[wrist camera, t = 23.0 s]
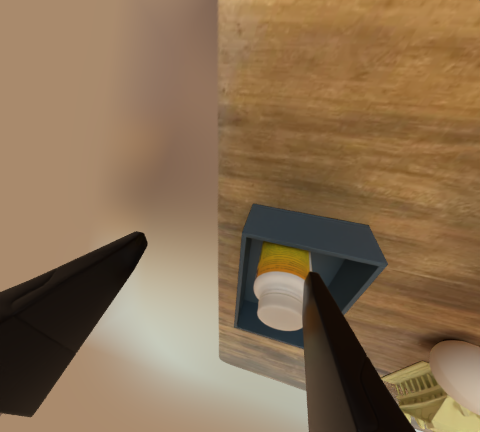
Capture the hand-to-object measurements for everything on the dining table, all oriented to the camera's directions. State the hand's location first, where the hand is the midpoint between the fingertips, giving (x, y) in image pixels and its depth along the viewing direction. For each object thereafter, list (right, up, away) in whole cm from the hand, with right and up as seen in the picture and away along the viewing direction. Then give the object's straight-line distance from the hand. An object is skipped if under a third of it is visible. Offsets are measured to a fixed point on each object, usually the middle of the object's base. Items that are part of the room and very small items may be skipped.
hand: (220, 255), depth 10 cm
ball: (+33, -17, +18) cm, 41 cm away
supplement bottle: (+7, -1, +14) cm, 15 cm away
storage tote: (+8, -6, +18) cm, 21 cm away
